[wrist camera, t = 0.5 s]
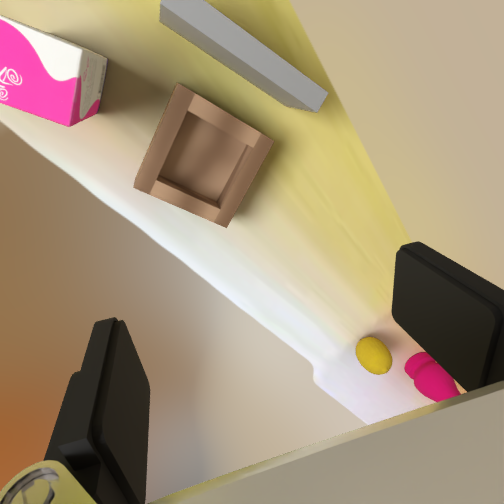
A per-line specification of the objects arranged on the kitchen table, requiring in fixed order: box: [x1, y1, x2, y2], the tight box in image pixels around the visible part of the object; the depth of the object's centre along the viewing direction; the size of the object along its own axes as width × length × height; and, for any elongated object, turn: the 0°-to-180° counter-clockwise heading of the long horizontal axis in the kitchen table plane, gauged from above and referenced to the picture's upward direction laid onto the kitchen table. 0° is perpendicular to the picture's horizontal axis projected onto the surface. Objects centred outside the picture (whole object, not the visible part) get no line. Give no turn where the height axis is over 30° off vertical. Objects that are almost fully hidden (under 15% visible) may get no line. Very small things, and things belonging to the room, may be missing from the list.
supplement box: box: [0, 15, 108, 127], centre depth 28 cm, size 6×6×12 cm
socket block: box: [133, 83, 274, 228], centre depth 38 cm, size 12×12×4 cm
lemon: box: [356, 337, 392, 375], centre depth 59 cm, size 6×6×8 cm
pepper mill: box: [405, 352, 461, 402], centre depth 62 cm, size 7×7×20 cm
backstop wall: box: [160, 0, 328, 113], centre depth 32 cm, size 16×2×9 cm, turn 60°
